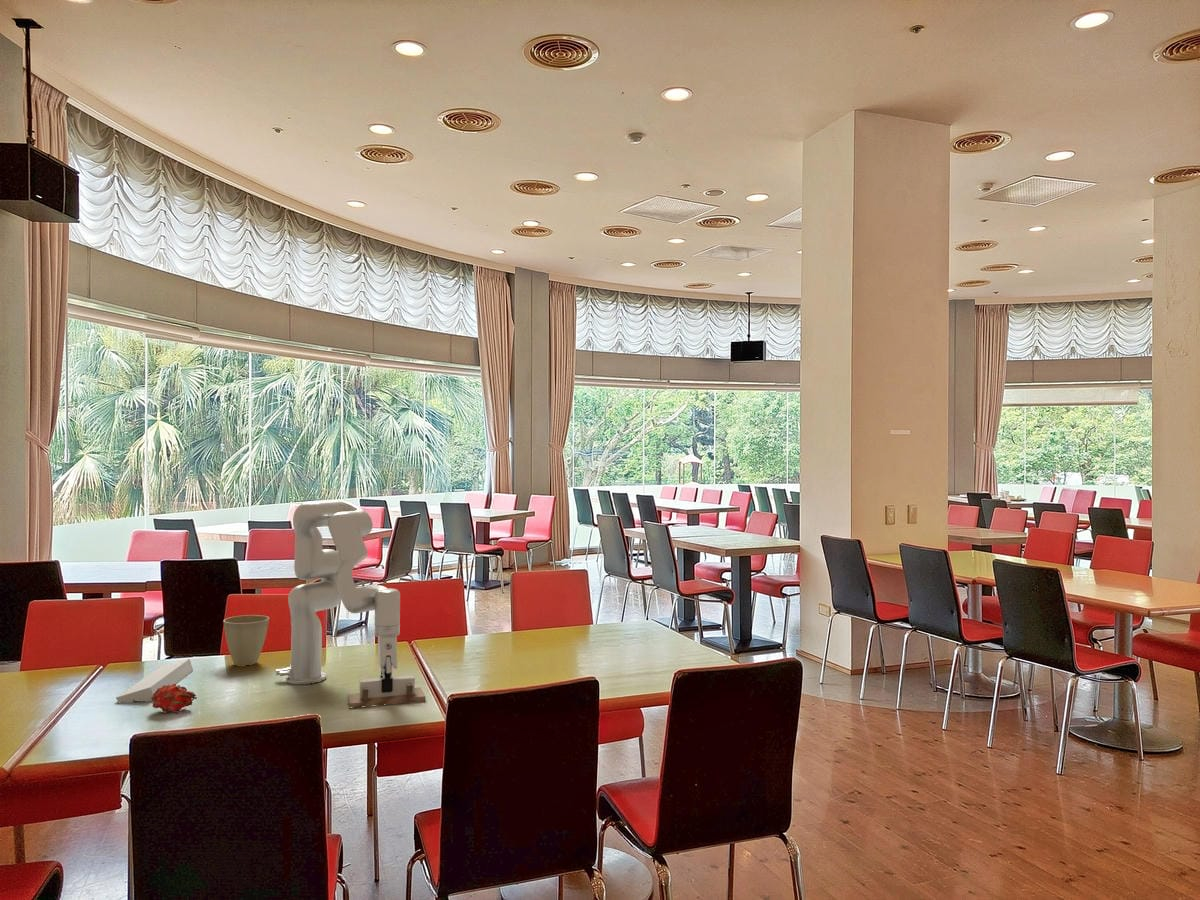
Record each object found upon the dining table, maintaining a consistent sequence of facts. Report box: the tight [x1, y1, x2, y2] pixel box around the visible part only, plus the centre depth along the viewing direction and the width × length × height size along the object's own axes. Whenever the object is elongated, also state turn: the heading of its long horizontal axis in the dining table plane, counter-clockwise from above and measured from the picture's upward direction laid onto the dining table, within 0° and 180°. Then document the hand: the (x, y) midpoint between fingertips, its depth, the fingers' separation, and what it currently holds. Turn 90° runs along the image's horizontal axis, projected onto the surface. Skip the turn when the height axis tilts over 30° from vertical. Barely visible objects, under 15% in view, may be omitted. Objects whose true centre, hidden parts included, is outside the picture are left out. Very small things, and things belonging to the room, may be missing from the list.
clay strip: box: [358, 674, 416, 699], centre depth 244 cm, size 16×3×5 cm, turn 110°
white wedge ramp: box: [115, 658, 194, 703], centre depth 257 cm, size 34×5×10 cm
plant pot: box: [223, 614, 270, 667], centre depth 284 cm, size 15×15×16 cm
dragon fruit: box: [151, 684, 198, 714], centre depth 232 cm, size 8×8×12 cm
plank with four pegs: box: [347, 684, 426, 708], centre depth 244 cm, size 22×10×5 cm, turn 110°
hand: (386, 689), depth 244 cm, fingers open, 3 cm apart
